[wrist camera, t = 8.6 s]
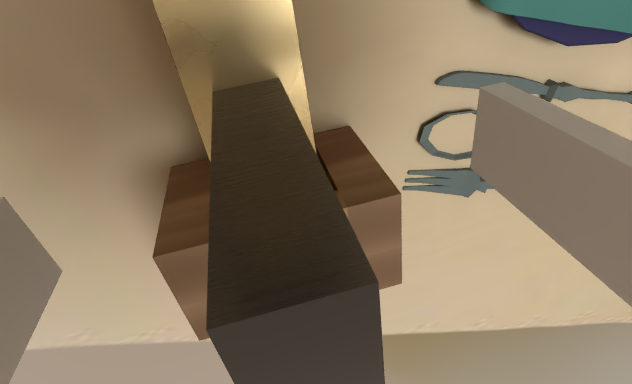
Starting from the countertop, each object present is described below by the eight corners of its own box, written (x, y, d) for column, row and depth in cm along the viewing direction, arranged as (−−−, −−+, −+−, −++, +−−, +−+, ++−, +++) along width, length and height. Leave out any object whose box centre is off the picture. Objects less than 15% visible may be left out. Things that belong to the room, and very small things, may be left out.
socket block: (171, 167, 20) (152, 257, 14) (349, 125, 21) (401, 193, 15) (203, 242, 23) (199, 340, 17) (357, 203, 24) (401, 283, 18)
